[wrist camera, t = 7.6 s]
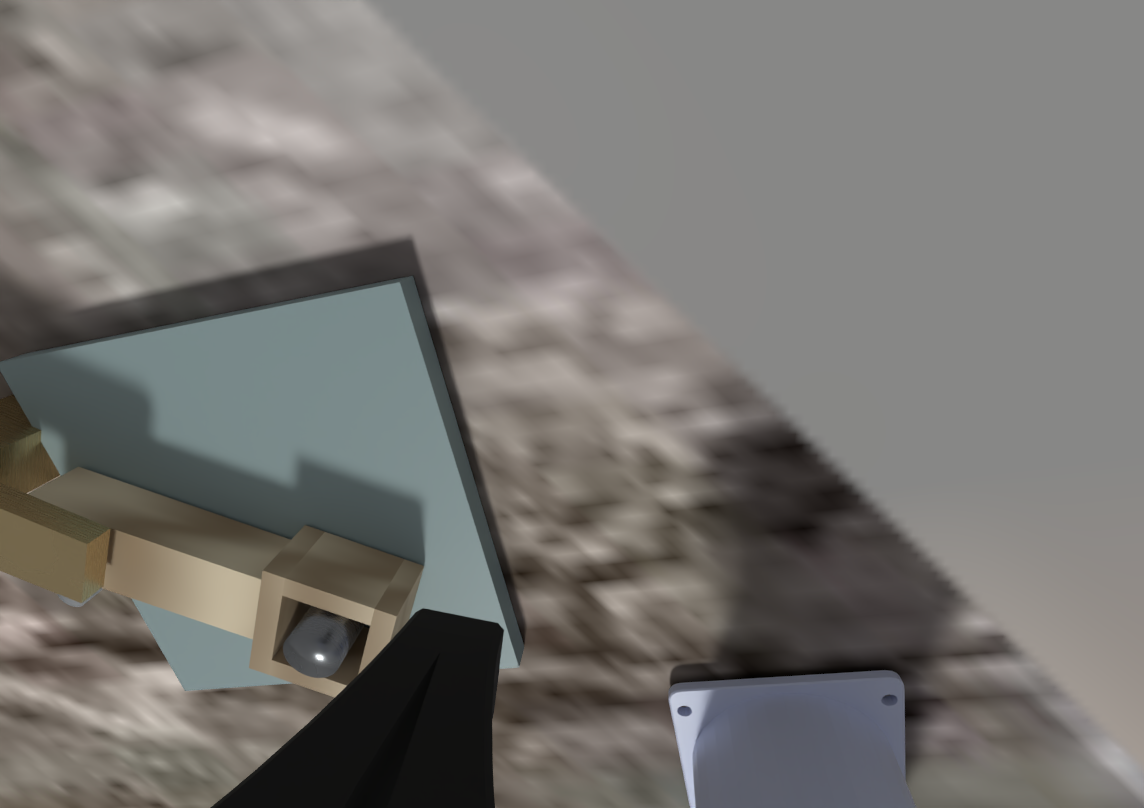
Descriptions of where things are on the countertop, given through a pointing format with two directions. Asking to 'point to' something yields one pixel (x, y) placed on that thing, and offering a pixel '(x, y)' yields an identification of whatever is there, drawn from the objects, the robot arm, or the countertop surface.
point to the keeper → (43, 518)
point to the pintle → (320, 642)
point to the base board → (281, 445)
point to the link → (242, 572)
